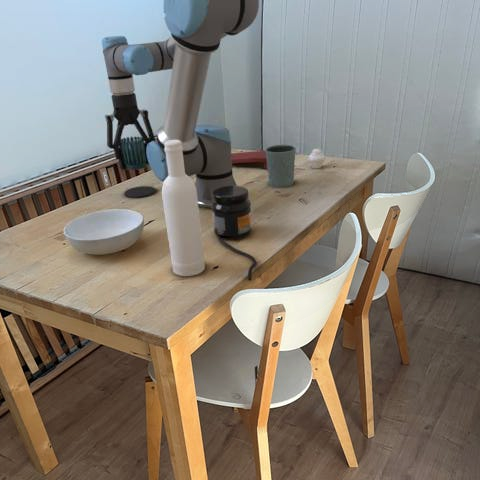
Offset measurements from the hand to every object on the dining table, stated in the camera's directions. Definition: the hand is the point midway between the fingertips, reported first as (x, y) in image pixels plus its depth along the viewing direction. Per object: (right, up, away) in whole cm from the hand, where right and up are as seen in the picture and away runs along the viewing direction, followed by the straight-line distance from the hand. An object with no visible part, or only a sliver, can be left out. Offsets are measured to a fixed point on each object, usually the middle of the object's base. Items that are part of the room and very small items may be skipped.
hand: (135, 166), depth 164 cm
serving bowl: (0, -33, -32) cm, 46 cm away
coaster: (+1, -8, +5) cm, 9 cm away
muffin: (+64, +5, +19) cm, 67 cm away
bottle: (+23, -40, -46) cm, 65 cm away
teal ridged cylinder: (-4, +2, -4) cm, 6 cm away
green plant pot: (+50, -5, +5) cm, 50 cm away
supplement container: (+34, -28, -29) cm, 53 cm away
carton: (+38, +10, +28) cm, 48 cm away
